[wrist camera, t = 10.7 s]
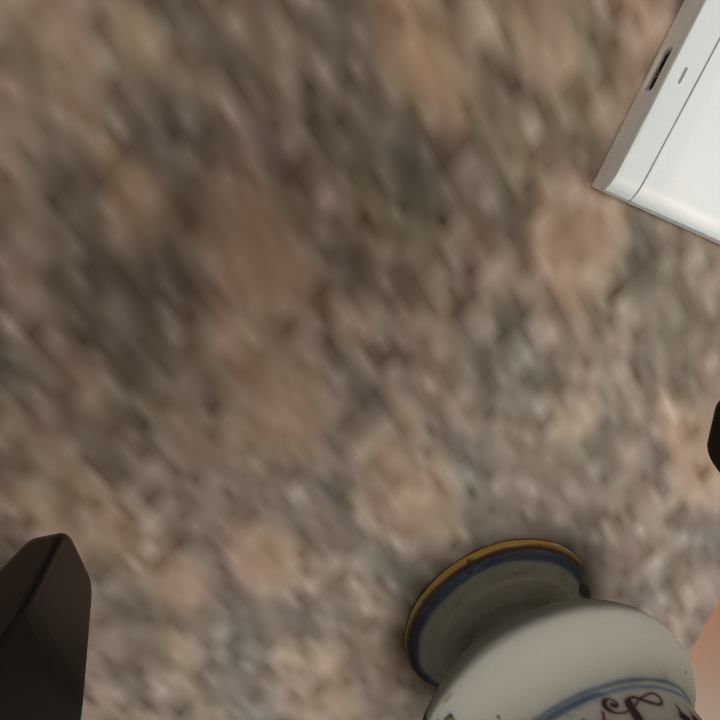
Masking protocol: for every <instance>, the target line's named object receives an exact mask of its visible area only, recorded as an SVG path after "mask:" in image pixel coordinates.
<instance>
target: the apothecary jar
mask: <svg viewBox="0 0 720 720" xmlns="http://www.w3.org/2000/svg"><path fill="white" fill-rule="evenodd" d="M582 568H583V566H582V562H581V561H580V560H579V559H578V558H577V557H576V556H575V555H574V554H573V553H572V552H571V551H569V550H568V549H566V548H564V547H562V546H561V545H559V544H557V543H553V542H548V541H542V540H535V539H530V540H526V539H523V540H512V541H506V542H501V543H498V544H494V545H491V546H488V547H486V548H483V549H481V550H478V551H476V552H474V553H472V554H470V555H468V556H466V557H464V558H463V559H461V560H459V561H458V562H456V563H455V564H454V565H452V566H451V567H449V568H448V569H447V570H446V571H444V572H443V573H442V574H441V575H440V576H439V577H437V578H436V579H435V580H434V581H433V582H432V584H431V585H430V586H429V587H428V588H427V589H426V590H425V591H424V593H423V594H422V595H421V597H420V598H419V599H418V601H417V603H416V604H415V606H414V608H413V610H412V612H411V614H410V617H409V620H408V623H407V628H406V633H405V650H406V654H407V657H408V660H409V662H410V664H411V666H412V668H413V670H414V671H415V672H416V673H417V674H418V675H419V676H420V677H421V678H422V679H423V680H425V681H426V682H428V683H430V684H431V685H433V686H436V687H438V688H437V690H436V692H435V694H434V695H433V697H432V700H431V701H430V703H429V705H428V707H427V709H426V712H425V715H424V718H423V720H702V719H701V718H700V717H699V715H698V714H697V713H696V711H695V700H696V692H695V691H696V689H695V679H694V674H693V669H692V666H691V663H690V661H689V658H688V656H687V654H686V652H685V650H684V649H683V647H682V645H681V644H680V642H679V641H678V640H677V638H676V637H675V636H674V635H673V634H672V633H671V632H670V631H669V630H668V629H667V628H666V627H665V626H664V625H663V624H662V623H660V622H659V621H658V620H656V619H655V618H653V617H652V616H650V615H648V614H647V613H645V612H643V611H641V610H639V609H636V608H634V607H631V606H628V605H625V604H621V603H617V602H612V601H606V600H598V599H591V591H590V589H589V586H587V585H586V584H584V583H583V581H582V580H581V578H582Z"/></svg>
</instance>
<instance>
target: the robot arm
mask: <svg viewBox="0 0 720 720" xmlns="http://www.w3.org/2000/svg"><path fill="white" fill-rule="evenodd" d="M707 448H708V453H709V456H710V458H711V460H712V462H713V464H714V465H715V467H716V468H717V469H718V471H719V472H720V401H719V402H718V403H717V405H716V408H715V412H714V416H713V420H712V425H711V429H710V434H709V438H708V443H707ZM91 594H92V591H91V582H90V578H89V575H88V573H87V571H86V569H85V567H84V564H83V562H82V560H81V558H80V556H79V554H78V552H77V550H76V548H75V546H74V544H73V541H72V540H71V538H70V537H69V536H68V535H67V534H64V533H58V534H53V535H48V536H43V537H38V538H35V539H32V540H30V541H29V542H28V543H27V544H25V545H24V546H23V547H22V548H21V549H20V550H19V551H18V552H17V553H16V554H15V555H14V556H13V557H12V558H11V559H10V560H9V561H8V562H7V563H6V564H5V565H4V566H3V567H2V568H1V569H0V720H81V714H82V705H83V696H84V684H85V671H86V658H87V646H88V633H89V621H90V608H91Z"/></svg>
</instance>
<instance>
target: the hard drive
mask: <svg viewBox="0 0 720 720" xmlns="http://www.w3.org/2000/svg"><path fill="white" fill-rule="evenodd" d="M592 187H594V188H595V189H598V190H600V191H602V192H604V193H606V194H609V195H611V196H613V197H615V198H618V199H620V200H622V201H624V202H626V203H628V204H630V205H633V206H635V207H637V208H639V209H641V210H644V211H646V212H648V213H650V214H653V215H655V216H657V217H659V218H661V219H664V220H666V221H668V222H670V223H672V224H675V225H677V226H679V227H681V228H684V229H686V230H688V231H690V232H692V233H695V234H697V235H699V236H702V237H704V238H706V239H708V240H710V241H713V242H715V243H717V244H719V245H720V0H684V2H683V4H682V6H681V8H680V10H679V12H678V14H677V16H676V18H675V20H674V22H673V24H672V26H671V28H670V30H669V32H668V34H667V36H666V38H665V40H664V42H663V44H662V46H661V48H660V50H659V52H658V54H657V56H656V58H655V60H654V62H653V64H652V66H651V68H650V70H649V72H648V74H647V76H646V78H645V80H644V82H643V84H642V86H641V88H640V90H639V92H638V94H637V96H636V98H635V100H634V102H633V104H632V106H631V108H630V110H629V112H628V114H627V116H626V118H625V120H624V122H623V125H622V127H621V129H620V131H619V133H618V135H617V137H616V139H615V141H614V143H613V145H612V147H611V149H610V151H609V153H608V155H607V157H606V159H605V161H604V163H603V165H602V167H601V169H600V171H599V173H598V175H597V177H596V179H595V180H594V182H593V184H592Z"/></svg>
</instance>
